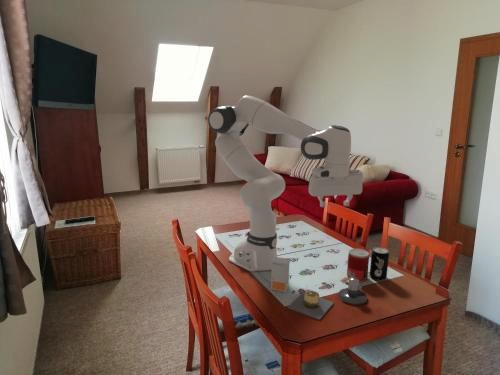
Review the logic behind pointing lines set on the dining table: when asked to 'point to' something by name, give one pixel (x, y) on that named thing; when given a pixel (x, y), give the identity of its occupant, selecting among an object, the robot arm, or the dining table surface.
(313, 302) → the cap
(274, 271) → the skincare box
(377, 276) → the beverage can
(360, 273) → the canned food
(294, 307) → the mat
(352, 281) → the silver metal stand
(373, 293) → the dining table surface
